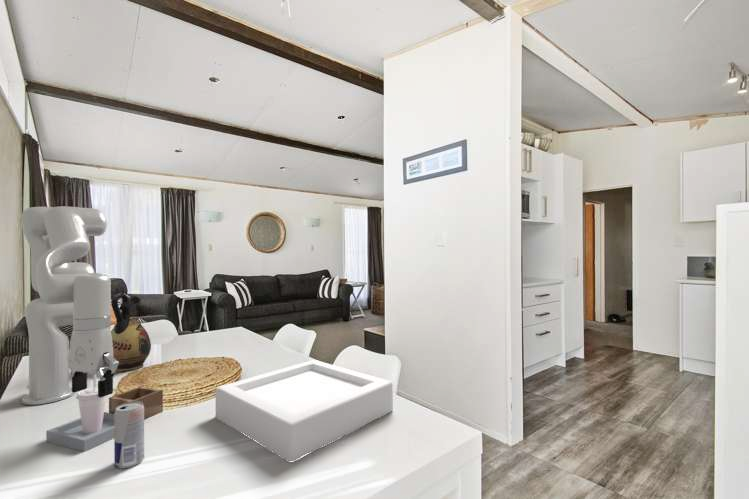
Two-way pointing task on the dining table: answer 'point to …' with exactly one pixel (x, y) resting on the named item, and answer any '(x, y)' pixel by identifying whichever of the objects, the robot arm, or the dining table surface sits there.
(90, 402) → the smoothie
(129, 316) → the ceramic jug
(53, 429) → the slate tray
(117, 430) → the energy drink
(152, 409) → the deep holder
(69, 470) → the dining table surface
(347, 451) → the dining table surface
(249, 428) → the tray
